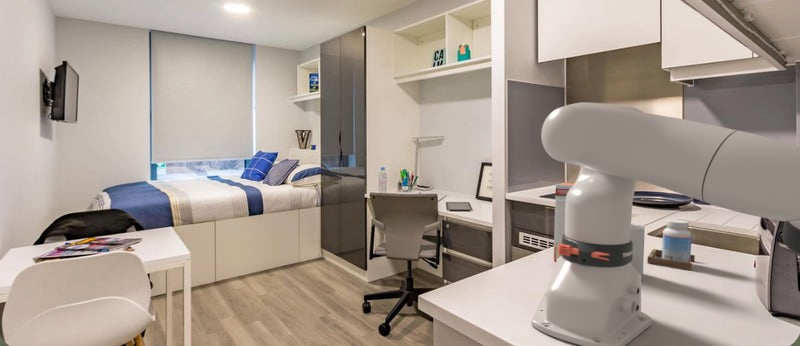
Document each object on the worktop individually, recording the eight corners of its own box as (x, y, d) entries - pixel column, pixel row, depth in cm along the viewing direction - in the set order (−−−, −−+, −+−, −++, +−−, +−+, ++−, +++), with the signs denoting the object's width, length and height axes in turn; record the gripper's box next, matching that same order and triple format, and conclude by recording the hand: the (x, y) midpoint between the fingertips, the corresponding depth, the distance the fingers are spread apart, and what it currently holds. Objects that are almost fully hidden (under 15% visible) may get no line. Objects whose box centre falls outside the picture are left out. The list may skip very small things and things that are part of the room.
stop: (691, 270, 97) (691, 264, 97) (647, 263, 103) (647, 257, 103) (694, 261, 104) (694, 255, 104) (653, 254, 110) (653, 248, 110)
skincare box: (622, 270, 98) (624, 222, 96) (642, 273, 95) (644, 224, 94) (621, 278, 92) (623, 227, 91) (642, 281, 90) (645, 229, 89)
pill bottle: (695, 267, 99) (698, 223, 98) (670, 267, 100) (672, 223, 99) (680, 260, 105) (682, 218, 104) (656, 259, 106) (658, 218, 105)
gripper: (864, 178, 74) (764, 174, 83) (841, 170, 90) (759, 168, 99) (867, 144, 74) (766, 144, 83) (843, 143, 89) (761, 142, 98)
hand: (762, 157), depth 91 cm, fingers closed
